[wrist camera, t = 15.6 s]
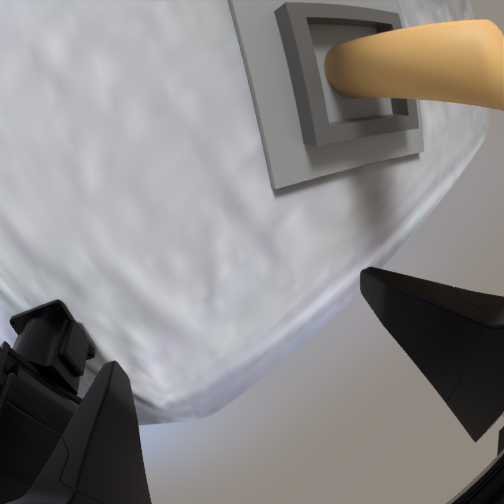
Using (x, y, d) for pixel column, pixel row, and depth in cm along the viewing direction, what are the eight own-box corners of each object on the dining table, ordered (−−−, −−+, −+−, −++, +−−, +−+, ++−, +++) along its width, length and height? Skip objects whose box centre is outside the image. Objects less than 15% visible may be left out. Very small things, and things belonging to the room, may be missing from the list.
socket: (271, 187, 22) (286, 196, 19) (224, -13, 14) (234, -29, 11) (418, 150, 24) (439, 155, 22) (391, -2, 17) (411, -8, 14)
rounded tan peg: (315, 78, 18) (471, 66, 7) (336, 33, 17) (481, 1, 6) (360, 108, 20) (509, 129, 9) (378, 65, 19) (518, 65, 7)
